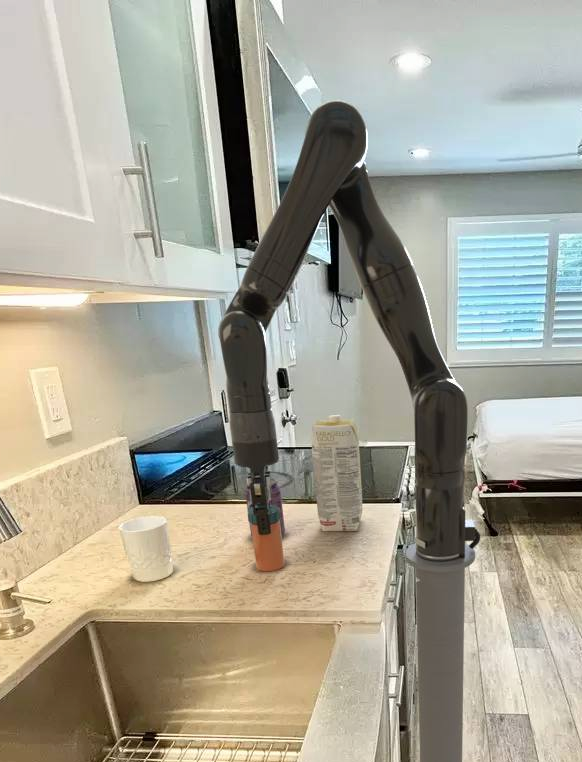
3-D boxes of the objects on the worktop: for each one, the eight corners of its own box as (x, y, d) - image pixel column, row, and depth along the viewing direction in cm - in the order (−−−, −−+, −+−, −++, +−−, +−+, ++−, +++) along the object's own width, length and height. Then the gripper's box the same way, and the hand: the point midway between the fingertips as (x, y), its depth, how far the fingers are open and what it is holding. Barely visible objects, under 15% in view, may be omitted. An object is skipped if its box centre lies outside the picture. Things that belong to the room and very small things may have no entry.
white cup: (183, 573, 105) (174, 522, 101) (140, 587, 100) (128, 534, 96) (165, 561, 110) (155, 512, 106) (123, 574, 105) (111, 524, 101)
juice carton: (364, 519, 128) (358, 412, 119) (361, 532, 121) (354, 419, 112) (323, 520, 129) (313, 413, 120) (317, 533, 122) (307, 420, 113)
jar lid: (280, 512, 106) (279, 503, 106) (280, 523, 101) (279, 513, 100) (249, 515, 105) (248, 505, 105) (247, 526, 100) (246, 516, 100)
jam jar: (287, 559, 109) (281, 507, 105) (281, 571, 104) (274, 516, 100) (260, 559, 109) (253, 507, 105) (253, 571, 105) (245, 517, 100)
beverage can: (247, 534, 122) (240, 480, 118) (280, 528, 125) (273, 475, 121) (256, 545, 116) (248, 488, 112) (289, 538, 119) (283, 483, 115)
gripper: (275, 443, 92) (286, 540, 98) (276, 426, 105) (286, 513, 111) (227, 446, 90) (241, 544, 97) (234, 429, 103) (247, 516, 110)
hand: (265, 527), depth 104 cm, fingers closed on jar lid, 5 cm apart
